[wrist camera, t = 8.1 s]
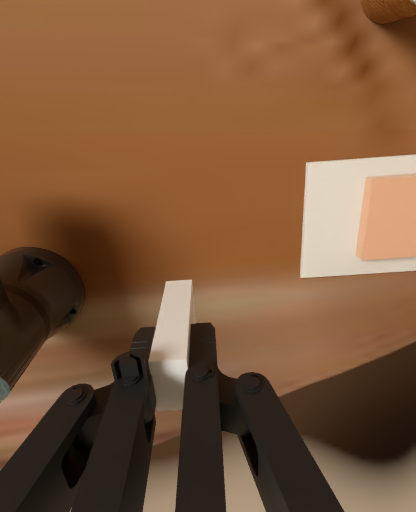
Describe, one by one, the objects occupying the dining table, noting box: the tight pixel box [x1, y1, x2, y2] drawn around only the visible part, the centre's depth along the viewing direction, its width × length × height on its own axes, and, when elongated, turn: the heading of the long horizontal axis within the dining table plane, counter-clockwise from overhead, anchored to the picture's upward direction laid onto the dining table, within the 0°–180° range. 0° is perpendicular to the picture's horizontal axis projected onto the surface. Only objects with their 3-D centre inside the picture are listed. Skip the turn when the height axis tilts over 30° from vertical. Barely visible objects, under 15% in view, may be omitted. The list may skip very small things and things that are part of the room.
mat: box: [300, 154, 416, 278], centre depth 46 cm, size 22×18×1 cm
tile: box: [356, 173, 416, 260], centre depth 45 cm, size 2×12×12 cm
